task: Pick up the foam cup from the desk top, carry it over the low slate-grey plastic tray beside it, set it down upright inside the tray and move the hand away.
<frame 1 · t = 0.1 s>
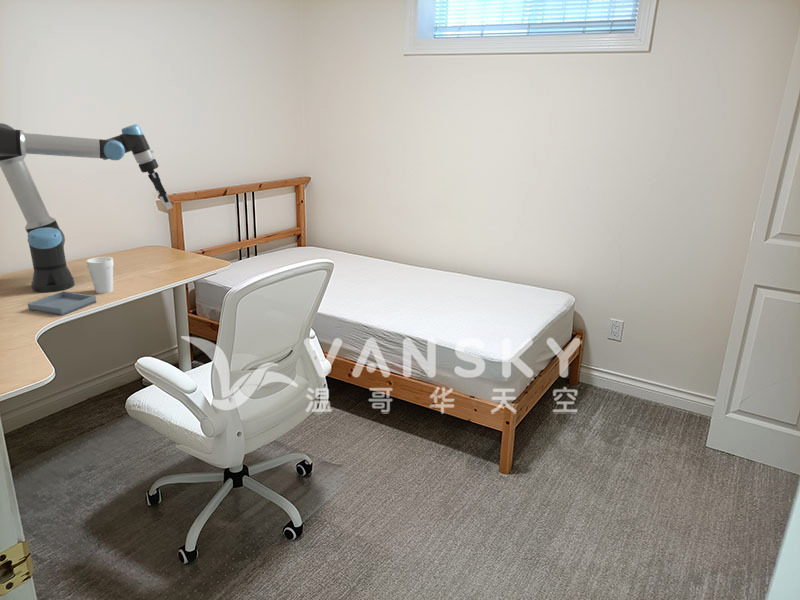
hand: (168, 206, 263), 28 cm above the table, fingers open, 13 cm apart
foam cup: (104, 291, 235), on the table
grey tray: (63, 306, 217), on the table
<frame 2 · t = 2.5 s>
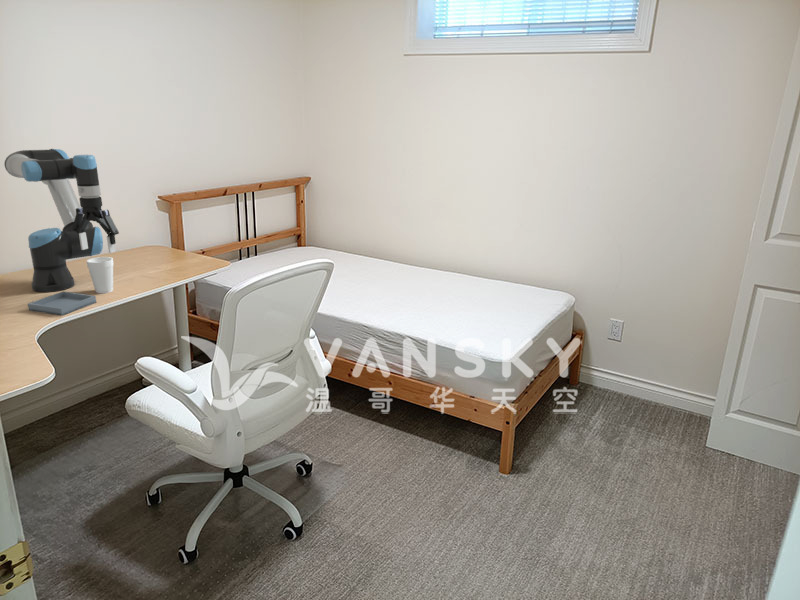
hand: (98, 250, 230), 17 cm above the table, fingers open, 13 cm apart
nothing on the table moved.
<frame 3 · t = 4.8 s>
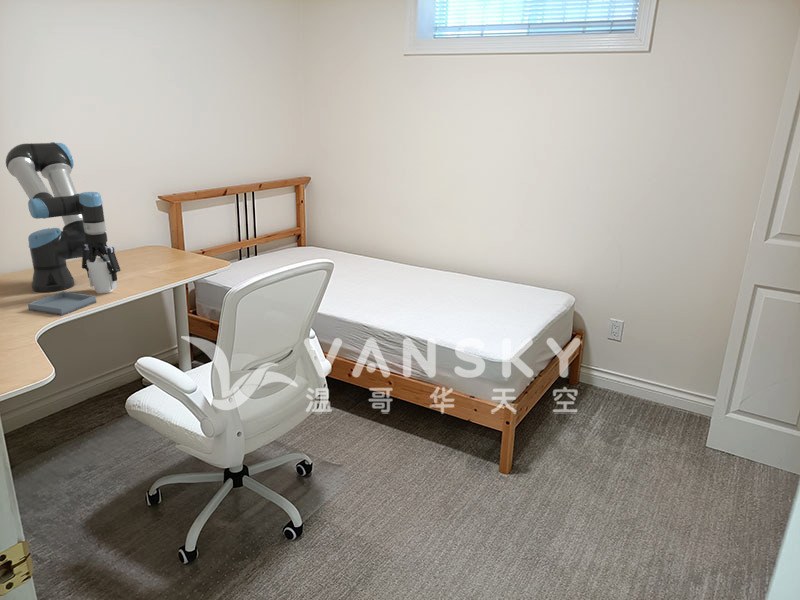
hand: (103, 287, 235), 2 cm above the table, fingers closed on foam cup, 9 cm apart
foam cup: (104, 291, 235), on the table, touching gripper
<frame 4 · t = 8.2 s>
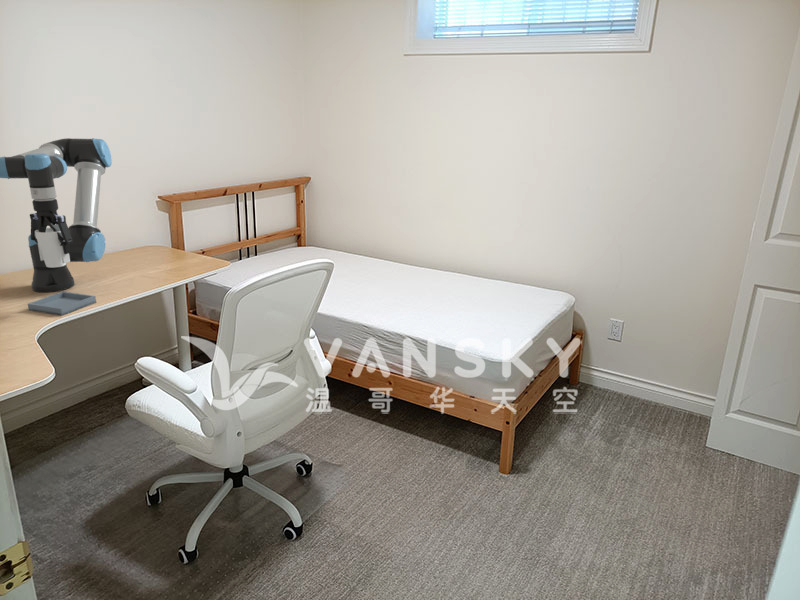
hand: (55, 260, 212), 17 cm above the table, fingers closed on foam cup, 9 cm apart
foam cup: (56, 265, 212), point 16 cm above the table, touching gripper
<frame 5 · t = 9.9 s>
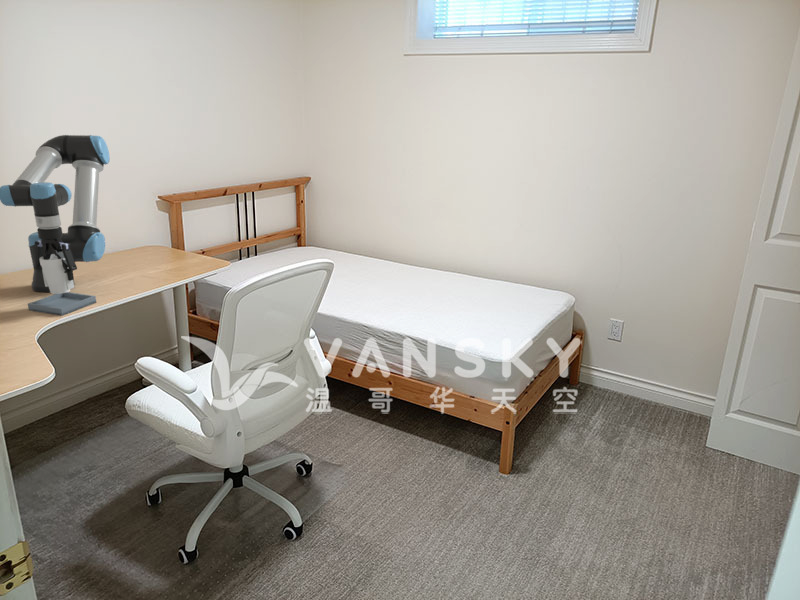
hand: (59, 287, 215), 8 cm above the table, fingers closed on foam cup, 9 cm apart
foam cup: (60, 291, 215), point 6 cm above the table, touching gripper
when the fingers open (4 cm above the table, at t = 11.6 s): foam cup drops 2 cm, resting on grey tray.
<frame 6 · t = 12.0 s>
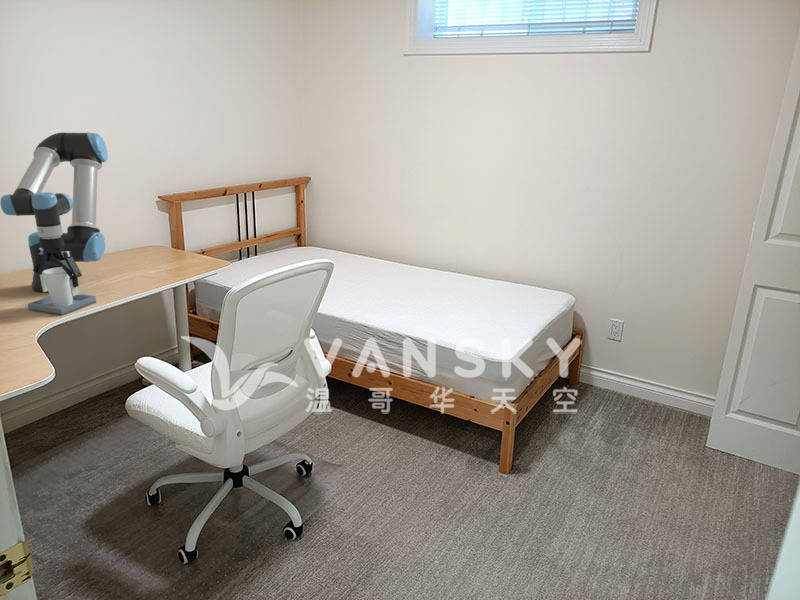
hand: (61, 293, 216), 5 cm above the table, fingers open, 13 cm apart
foam cup: (63, 304, 217), point 1 cm above the table, touching grey tray
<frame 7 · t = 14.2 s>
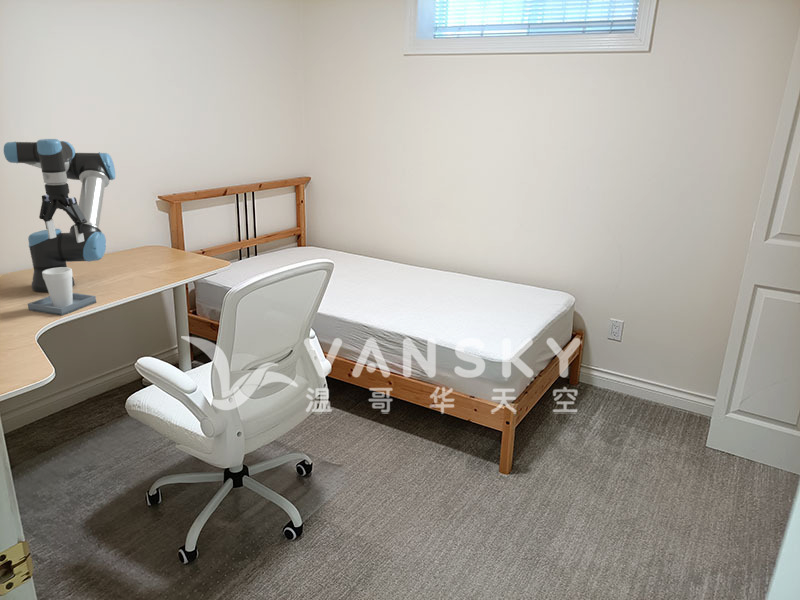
hand: (66, 239, 220), 23 cm above the table, fingers open, 13 cm apart
nothing on the table moved.
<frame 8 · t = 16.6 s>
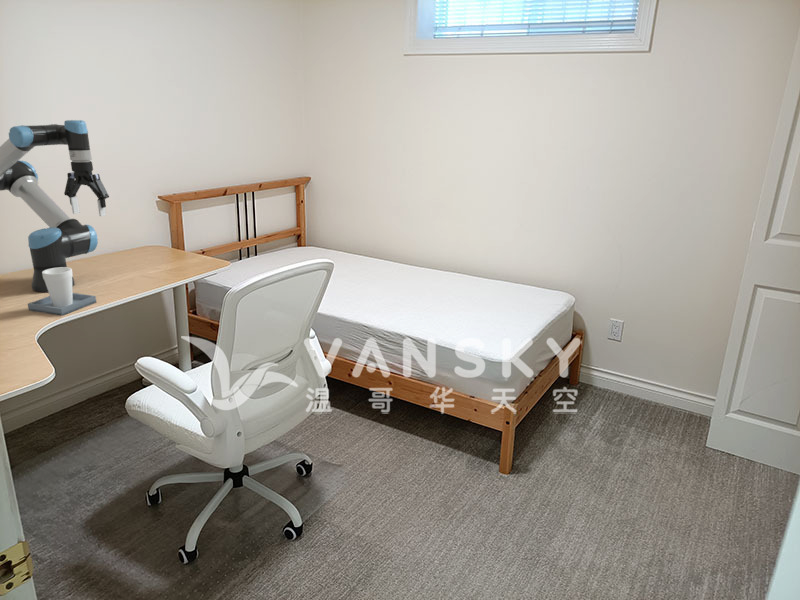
hand: (89, 214, 237), 29 cm above the table, fingers open, 13 cm apart
nothing on the table moved.
at the end: foam cup 0.1 cm off-centre on the grey tray, point 0.6 cm above the grey tray's base; foam cup tilted 0°; the gripper is holding nothing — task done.
